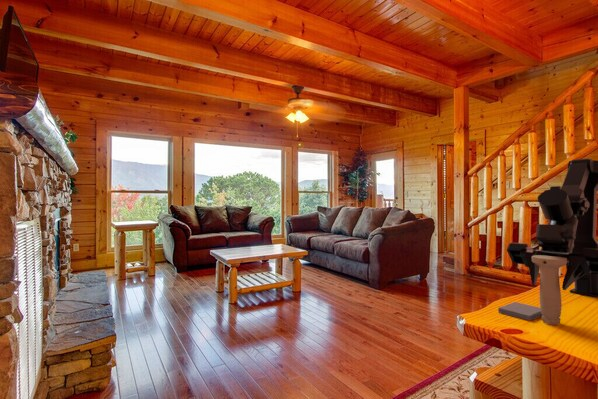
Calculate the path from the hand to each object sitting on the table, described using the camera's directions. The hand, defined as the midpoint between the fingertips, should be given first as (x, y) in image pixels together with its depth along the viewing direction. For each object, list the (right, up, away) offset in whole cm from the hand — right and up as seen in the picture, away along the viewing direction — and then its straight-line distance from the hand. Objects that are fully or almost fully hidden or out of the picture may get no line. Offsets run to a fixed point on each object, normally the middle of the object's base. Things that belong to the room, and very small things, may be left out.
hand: (547, 286), depth 74 cm
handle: (+1, -9, +1) cm, 9 cm away
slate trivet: (-1, -9, +7) cm, 11 cm away
